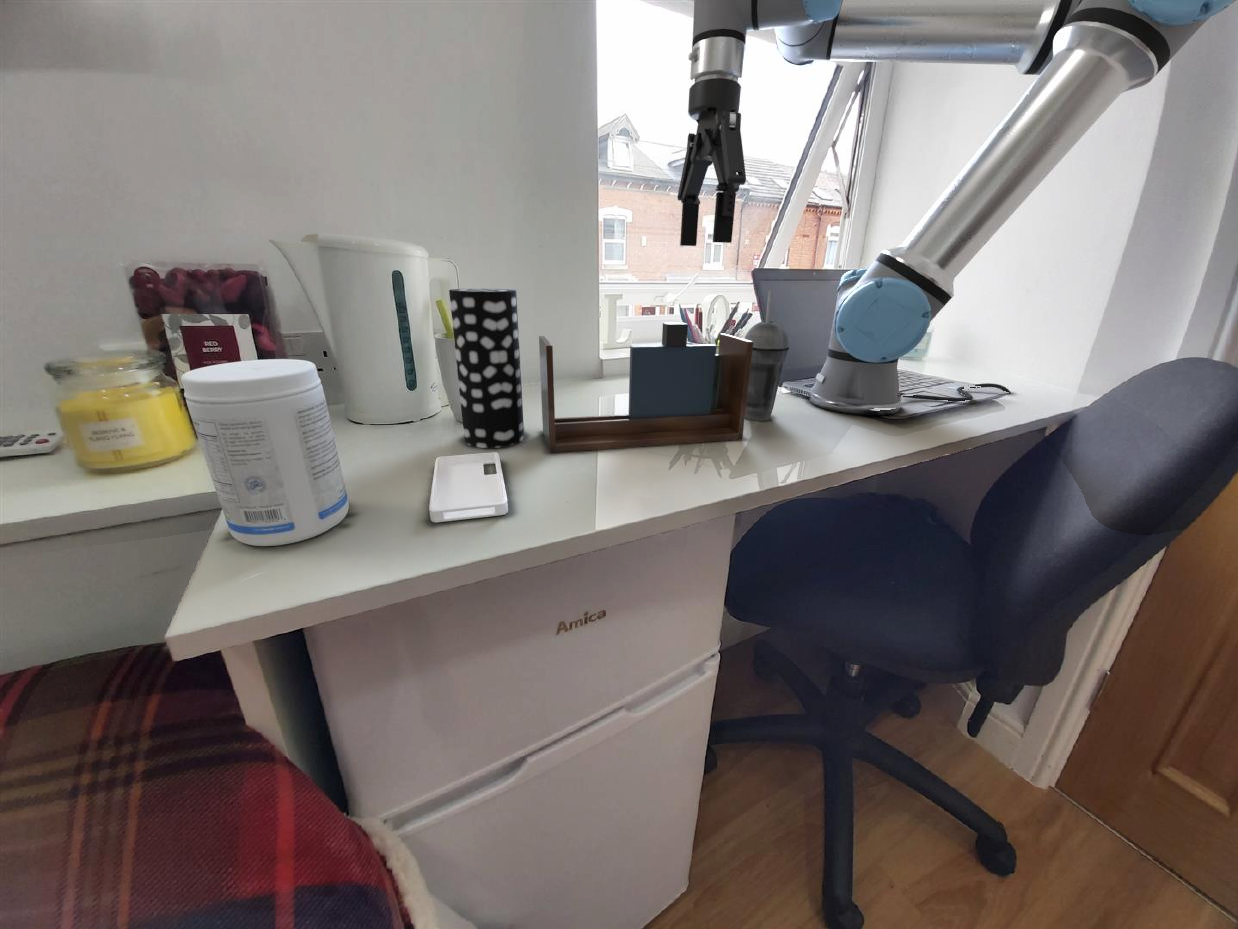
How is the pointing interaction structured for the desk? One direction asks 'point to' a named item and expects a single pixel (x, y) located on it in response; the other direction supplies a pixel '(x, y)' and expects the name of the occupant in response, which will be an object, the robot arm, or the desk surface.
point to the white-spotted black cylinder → (488, 366)
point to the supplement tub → (268, 448)
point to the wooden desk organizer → (660, 430)
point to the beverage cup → (765, 366)
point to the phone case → (467, 488)
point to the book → (671, 376)
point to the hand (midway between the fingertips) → (703, 244)
